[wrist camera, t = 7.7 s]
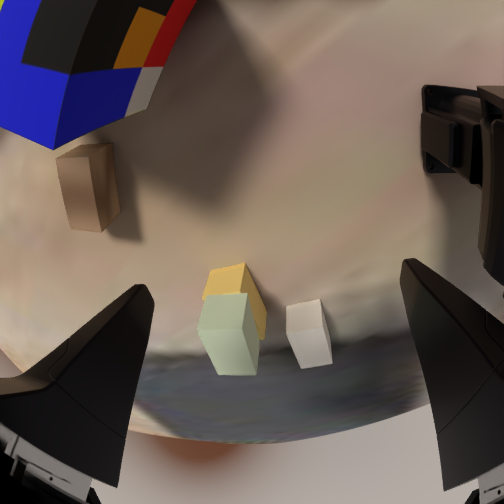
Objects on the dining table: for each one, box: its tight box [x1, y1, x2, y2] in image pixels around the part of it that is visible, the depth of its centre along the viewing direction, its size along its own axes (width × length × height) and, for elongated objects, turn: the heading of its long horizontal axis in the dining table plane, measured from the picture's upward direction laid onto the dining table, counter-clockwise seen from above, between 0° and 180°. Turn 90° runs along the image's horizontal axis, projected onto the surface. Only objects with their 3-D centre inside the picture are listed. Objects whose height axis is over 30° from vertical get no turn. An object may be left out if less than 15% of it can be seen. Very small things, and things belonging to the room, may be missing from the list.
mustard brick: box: [202, 263, 267, 340], centre depth 25 cm, size 6×3×4 cm, turn 19°
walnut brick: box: [56, 143, 121, 233], centre depth 19 cm, size 6×3×4 cm, turn 176°
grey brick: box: [286, 299, 333, 369], centre depth 27 cm, size 6×3×4 cm, turn 20°
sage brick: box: [197, 293, 260, 375], centre depth 22 cm, size 6×3×4 cm, turn 10°
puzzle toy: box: [0, 0, 197, 150], centre depth 10 cm, size 10×10×10 cm
